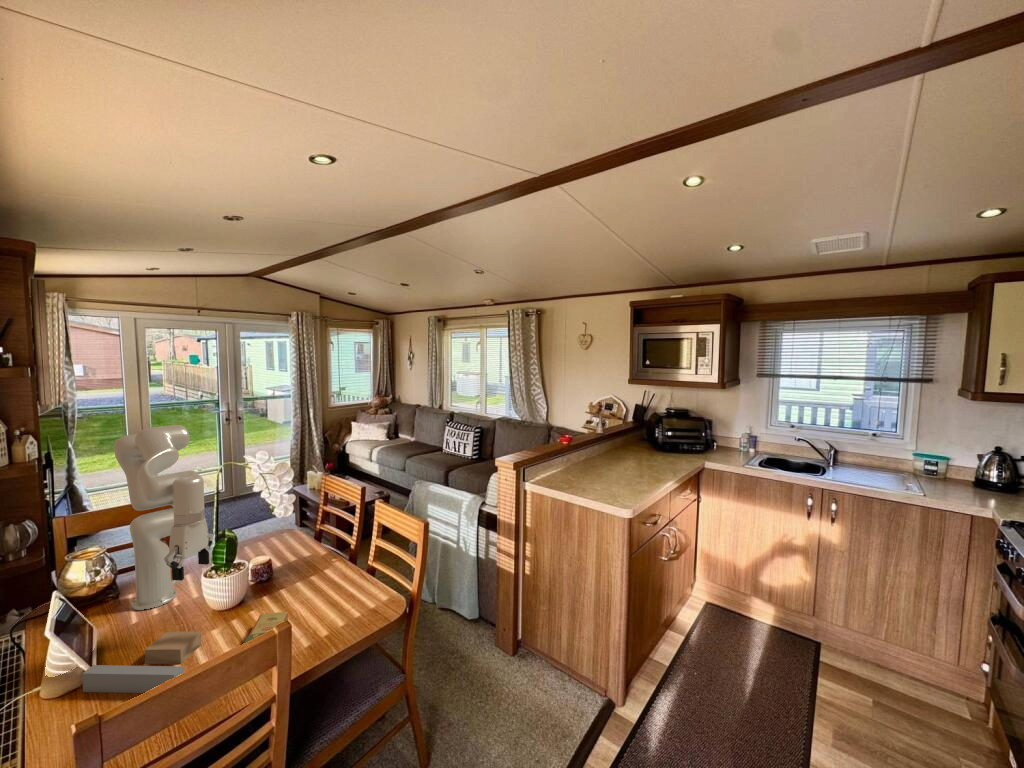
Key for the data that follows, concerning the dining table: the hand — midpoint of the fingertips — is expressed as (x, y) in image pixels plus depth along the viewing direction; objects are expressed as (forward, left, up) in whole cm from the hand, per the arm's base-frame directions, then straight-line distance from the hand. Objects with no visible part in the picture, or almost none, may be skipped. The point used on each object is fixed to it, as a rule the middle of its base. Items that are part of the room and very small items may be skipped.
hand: (191, 571), depth 131 cm
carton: (+1, +23, -22) cm, 31 cm away
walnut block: (+8, 0, -21) cm, 22 cm away
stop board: (+21, 0, -21) cm, 29 cm away
